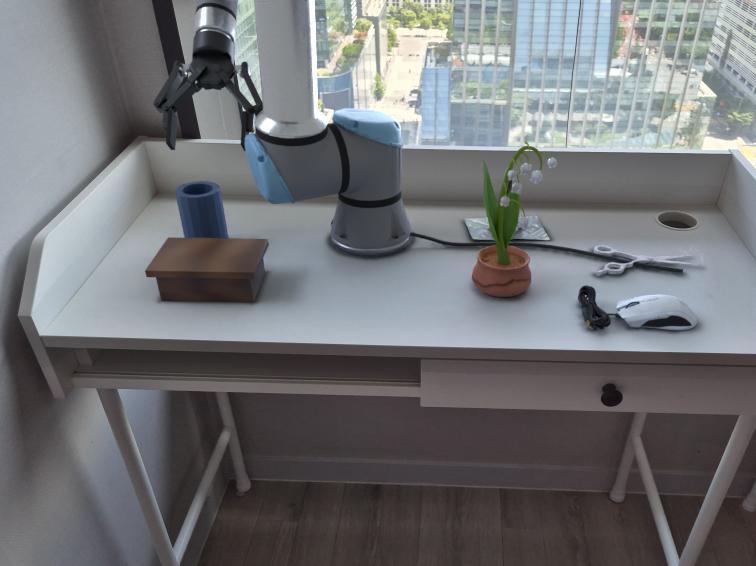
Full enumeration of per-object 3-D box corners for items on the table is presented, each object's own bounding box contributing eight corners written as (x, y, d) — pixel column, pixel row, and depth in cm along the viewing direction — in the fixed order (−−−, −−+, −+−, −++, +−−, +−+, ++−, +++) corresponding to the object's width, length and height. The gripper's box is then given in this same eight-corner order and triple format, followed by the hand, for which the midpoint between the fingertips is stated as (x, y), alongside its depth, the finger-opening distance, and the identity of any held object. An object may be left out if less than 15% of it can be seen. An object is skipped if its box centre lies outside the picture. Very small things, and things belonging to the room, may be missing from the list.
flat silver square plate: (537, 218, 140) (545, 152, 132) (550, 240, 132) (559, 171, 124) (464, 220, 139) (467, 154, 131) (472, 242, 131) (476, 173, 123)
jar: (233, 237, 131) (224, 181, 125) (223, 255, 125) (213, 197, 119) (193, 236, 131) (182, 180, 125) (181, 255, 125) (169, 197, 119)
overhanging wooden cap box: (272, 270, 121) (268, 238, 117) (258, 305, 111) (253, 272, 108) (175, 268, 121) (167, 237, 117) (153, 303, 111) (144, 270, 108)
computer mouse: (704, 337, 105) (711, 314, 103) (584, 334, 106) (588, 311, 103) (686, 303, 113) (692, 282, 111) (574, 300, 114) (578, 279, 111)
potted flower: (546, 280, 119) (567, 133, 104) (534, 308, 112) (554, 154, 97) (479, 268, 122) (490, 124, 107) (463, 295, 115) (472, 144, 100)
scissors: (585, 245, 129) (692, 244, 129) (584, 249, 129) (691, 248, 129) (597, 272, 120) (712, 272, 120) (596, 276, 120) (711, 276, 121)
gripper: (284, 54, 134) (279, 157, 131) (155, 51, 134) (147, 155, 131) (276, 29, 126) (271, 138, 123) (140, 27, 126) (131, 136, 123)
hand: (207, 147), depth 127 cm, fingers open, 13 cm apart
